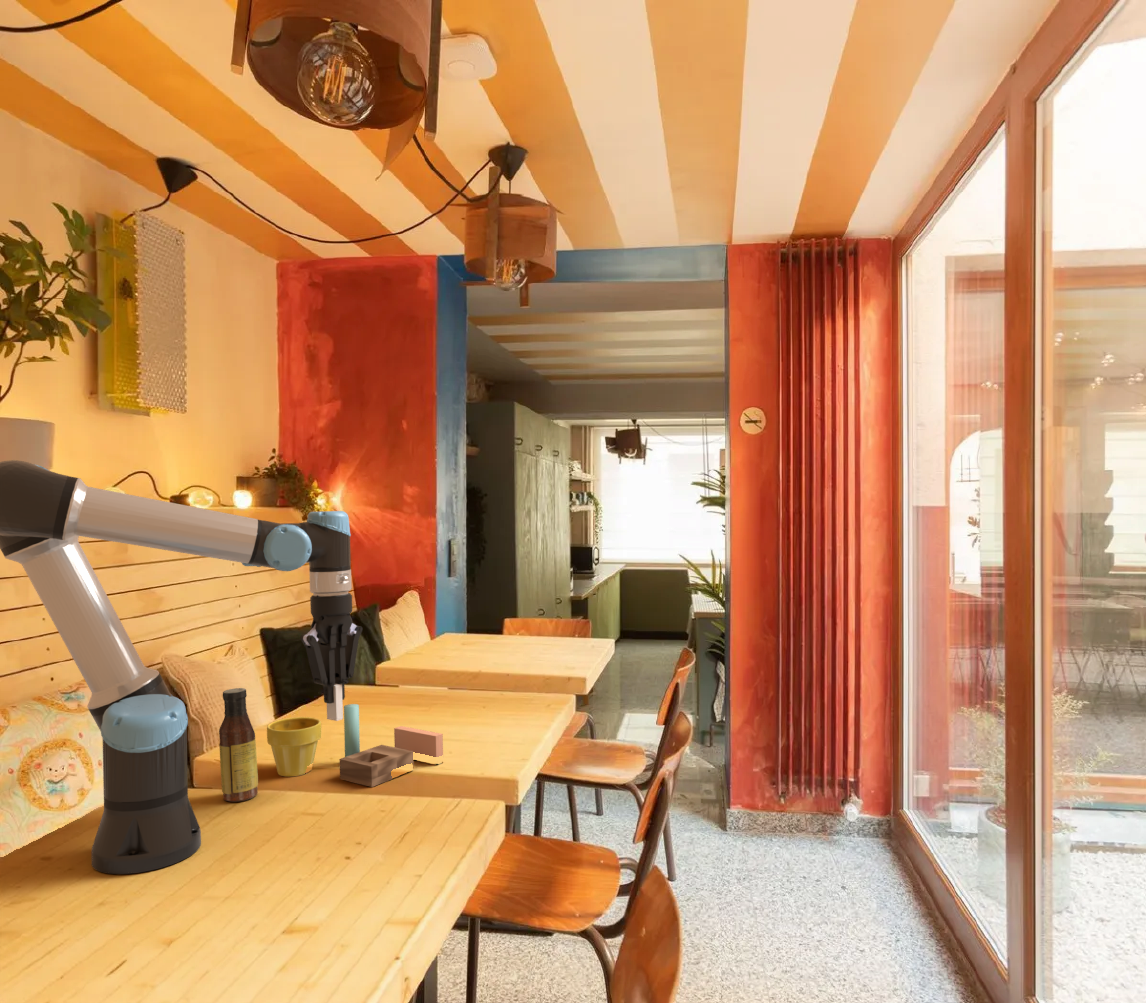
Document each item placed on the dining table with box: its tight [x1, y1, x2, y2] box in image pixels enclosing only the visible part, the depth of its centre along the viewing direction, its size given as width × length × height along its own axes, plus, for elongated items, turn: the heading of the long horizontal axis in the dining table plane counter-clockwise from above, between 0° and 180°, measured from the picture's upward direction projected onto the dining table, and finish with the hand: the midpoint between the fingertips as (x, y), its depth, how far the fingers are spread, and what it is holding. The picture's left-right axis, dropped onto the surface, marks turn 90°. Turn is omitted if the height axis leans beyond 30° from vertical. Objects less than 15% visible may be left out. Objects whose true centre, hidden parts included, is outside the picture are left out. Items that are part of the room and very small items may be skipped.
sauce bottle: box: [218, 687, 259, 803], centre depth 154 cm, size 6×6×20 cm
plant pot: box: [266, 716, 322, 778], centre depth 168 cm, size 10×10×10 cm
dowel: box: [343, 703, 361, 757], centre depth 172 cm, size 3×3×12 cm
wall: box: [393, 725, 444, 757], centre depth 174 cm, size 2×12×6 cm, turn 56°
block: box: [339, 744, 414, 788], centre depth 165 cm, size 11×9×4 cm
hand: (335, 719), depth 156 cm, fingers closed
